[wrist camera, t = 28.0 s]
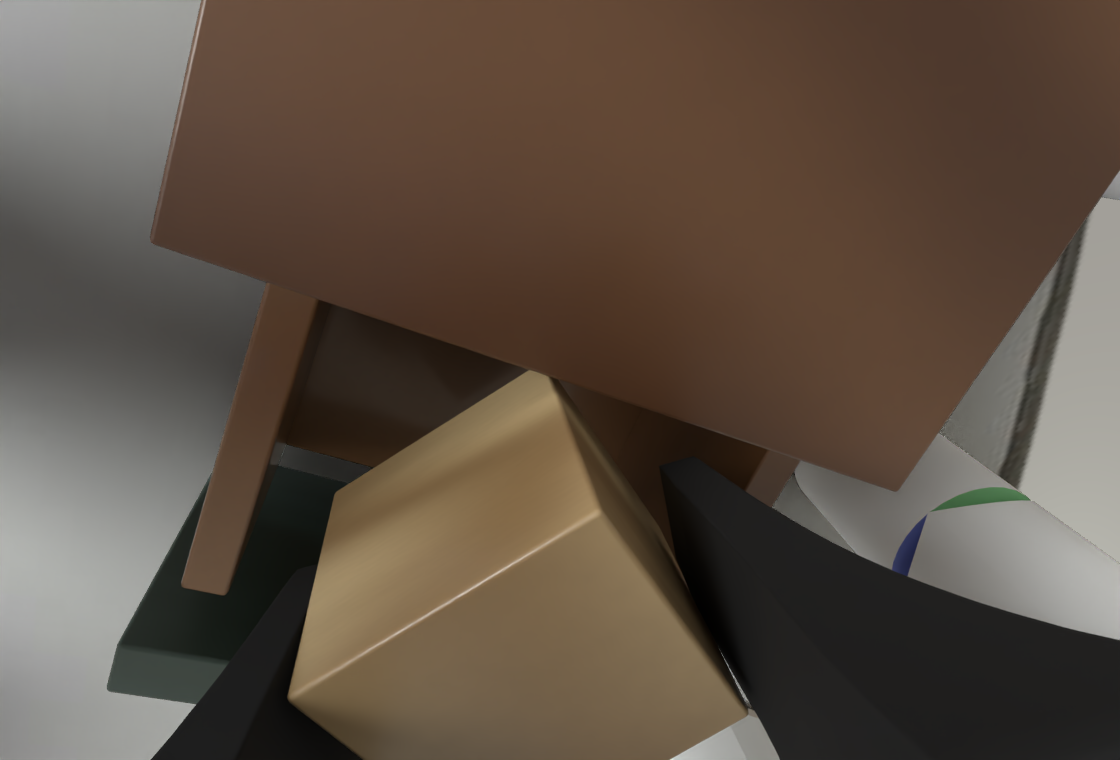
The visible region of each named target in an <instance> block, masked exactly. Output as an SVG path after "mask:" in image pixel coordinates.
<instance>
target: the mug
mask: <svg viewBox="0 0 1120 760" xmlns="http://www.w3.org/2000/svg"><path fill="white" fill-rule="evenodd" d="M748 712H749V714H748V716H747V717H745V718H743V719H742V720H740V721H738V722H736V723H734V724H733V725H731V726H729V727H727V728H725V729H724V730H722V731H720V732H718V733H717V734H715V735H713V736H711V737H709V738H708V739H706V740H704V741H702V742H700V743H699V744H697V745H695V746H693V747H692V748H690V749H688V750H686V751H684V752H683V753H681V754H679V755H677V756H675V757H674V758H672V759H670V760H780V759H779V756H778V754H777V752H776V750H775V748H774V746H773V744H772V742H771V740H770V739H769V737H768V735H767V733H766V731H765V729H764V727H763V725H762V723H761V722H760V720H759V718H758V716H757V714H756V713H755V711H754V710H752V709H749V708H748Z"/></svg>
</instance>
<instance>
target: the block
mask: <svg viewBox="0 0 1120 760" xmlns="http://www.w3.org/2000/svg"><path fill="white" fill-rule="evenodd" d="M287 697H288V701H289V702H290V703H291V704H292V705H293V706H295V707H296V708H297V709H298V710H300V711H301V712H302V713H304V714H305V715H306V716H307V717H309V718H310V719H311V720H313V721H314V722H315V723H316V724H318V725H319V726H320V727H322V728H323V729H324V730H325V731H327V732H328V733H329V734H330V735H332V736H333V737H334V738H336V739H337V740H338V741H339V742H341V743H342V744H343V745H345V746H346V747H347V748H348V749H350V750H351V751H352V752H354V753H355V754H356V755H357V756H359V757H360V758H361V759H363V760H670V759H672V758H674V757H675V756H677V755H679V754H681V753H683V752H684V751H686V750H688V749H690V748H692V747H693V746H695V745H697V744H699V743H700V742H702V741H704V740H706V739H708V738H709V737H711V736H713V735H715V734H717V733H718V732H720V731H722V730H724V729H725V728H727V727H729V726H731V725H733V724H734V723H736V722H738V721H740V720H742V719H743V718H745V717H747V716H748V714H749V712H748V707H747V705H746V703H745V701H744V699H743V697H742V695H741V693H740V691H739V689H738V687H737V685H736V683H735V680H734V678H733V676H732V674H731V672H730V670H729V668H728V666H727V664H726V662H725V660H724V658H723V656H722V654H721V652H720V650H719V648H718V646H717V644H716V642H715V640H714V638H713V636H712V634H711V632H710V630H709V628H708V626H707V624H706V622H705V621H704V619H703V617H702V615H701V613H700V611H699V609H698V607H697V605H696V603H695V601H694V599H693V597H692V595H691V593H690V591H689V589H688V586H687V584H686V582H685V579H684V577H683V574H682V572H681V570H680V568H679V566H678V564H677V562H676V560H675V558H674V556H673V554H672V552H671V550H670V548H669V546H668V544H667V542H666V540H665V538H664V536H663V534H662V532H661V529H660V527H659V526H658V524H657V523H656V521H655V520H654V518H653V517H652V515H651V514H650V512H649V511H648V510H647V508H646V507H645V505H644V504H643V502H642V501H641V499H640V498H639V496H638V495H637V494H636V492H635V491H634V489H633V488H632V486H631V485H630V483H629V482H628V480H627V479H626V478H625V476H624V475H623V473H622V472H621V470H620V469H619V467H618V466H617V464H616V463H615V462H614V460H613V459H612V457H611V456H610V454H609V453H608V451H607V450H606V449H605V447H604V446H603V444H602V443H601V441H600V440H599V438H598V437H597V435H596V434H595V433H594V431H593V430H592V428H591V427H590V425H589V424H588V422H587V421H586V419H585V418H584V417H583V415H582V414H581V412H580V411H579V409H578V408H577V406H576V405H575V403H574V402H573V401H572V399H571V398H570V396H569V395H568V393H567V392H566V390H565V389H564V387H563V386H562V385H561V383H560V382H559V380H558V379H555V378H552V377H549V376H546V375H543V374H540V373H537V372H534V371H531V370H528V371H527V372H525V373H524V374H522V375H521V376H519V377H517V378H516V379H514V380H513V381H511V382H509V383H508V384H506V385H505V386H503V387H502V388H500V389H498V390H497V391H495V392H494V393H492V394H490V395H489V396H487V397H486V398H484V399H482V400H481V401H479V402H478V403H476V404H475V405H473V406H471V407H470V408H468V409H467V410H465V411H463V412H462V413H460V414H459V415H457V416H456V417H454V418H452V419H451V420H449V421H448V422H446V423H444V424H443V425H441V426H440V427H438V428H436V429H435V430H433V431H432V432H430V433H429V434H427V435H425V436H424V437H422V438H421V439H419V440H417V441H416V442H414V443H413V444H411V445H410V446H408V447H406V448H405V449H403V450H402V451H400V452H398V453H397V454H395V455H394V456H392V457H390V458H389V459H387V460H386V461H384V462H383V463H381V464H379V465H378V466H376V467H375V468H373V469H371V470H370V471H368V472H367V473H365V474H364V475H362V476H360V477H359V478H357V479H356V480H354V481H352V482H351V483H349V484H348V485H346V486H345V487H343V488H341V489H340V490H338V491H337V492H336V493H335V494H334V499H333V503H332V507H331V511H330V516H329V520H328V524H327V528H326V533H325V537H324V541H323V546H322V550H321V554H320V558H319V563H318V567H317V571H316V575H315V580H314V584H313V588H312V592H311V597H310V601H309V605H308V610H307V614H306V618H305V622H304V627H303V631H302V635H301V639H300V644H299V648H298V652H297V656H296V661H295V665H294V669H293V674H292V678H291V682H290V686H289V691H288V695H287Z"/></svg>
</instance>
